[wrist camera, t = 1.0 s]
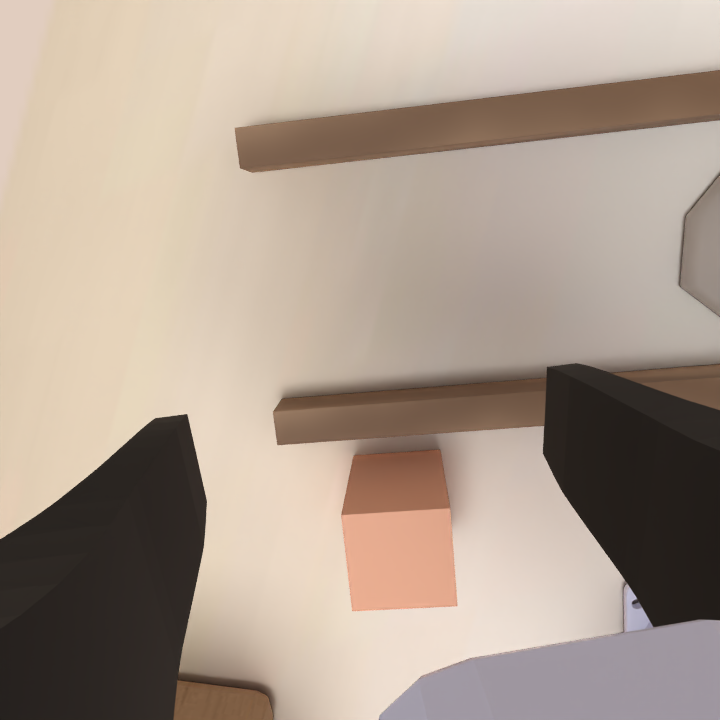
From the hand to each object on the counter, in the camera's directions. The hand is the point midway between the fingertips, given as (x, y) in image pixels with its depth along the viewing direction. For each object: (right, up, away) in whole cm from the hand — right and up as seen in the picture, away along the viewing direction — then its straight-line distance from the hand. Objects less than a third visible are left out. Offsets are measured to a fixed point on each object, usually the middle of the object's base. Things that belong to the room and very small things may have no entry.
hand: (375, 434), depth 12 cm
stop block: (+2, -5, +17) cm, 17 cm away
